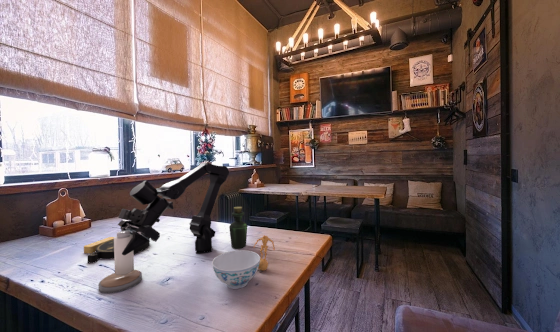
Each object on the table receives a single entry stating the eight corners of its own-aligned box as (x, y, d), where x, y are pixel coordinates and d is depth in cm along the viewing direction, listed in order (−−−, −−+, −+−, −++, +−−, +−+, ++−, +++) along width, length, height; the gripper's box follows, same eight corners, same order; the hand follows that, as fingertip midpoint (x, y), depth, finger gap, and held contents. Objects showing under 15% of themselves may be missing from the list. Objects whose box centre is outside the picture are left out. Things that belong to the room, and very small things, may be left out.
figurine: (249, 271, 81) (248, 237, 81) (257, 263, 87) (256, 232, 87) (271, 274, 78) (270, 239, 78) (277, 266, 84) (277, 234, 84)
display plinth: (146, 272, 82) (146, 267, 82) (134, 289, 71) (134, 283, 71) (109, 277, 79) (108, 271, 79) (90, 296, 68) (90, 289, 68)
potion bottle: (250, 247, 104) (250, 207, 104) (234, 251, 99) (233, 210, 99) (243, 242, 111) (242, 205, 110) (227, 246, 106) (226, 207, 106)
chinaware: (220, 272, 81) (220, 250, 81) (263, 271, 81) (262, 250, 80) (205, 297, 66) (204, 270, 66) (257, 297, 66) (256, 270, 65)
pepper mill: (137, 268, 77) (136, 230, 77) (123, 276, 72) (122, 235, 72) (125, 267, 79) (124, 229, 79) (110, 274, 74) (109, 234, 74)
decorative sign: (123, 231, 122) (165, 233, 117) (124, 238, 122) (165, 240, 117) (61, 253, 93) (113, 257, 88) (62, 261, 94) (113, 266, 89)
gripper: (123, 197, 84) (86, 235, 75) (149, 201, 73) (109, 246, 64) (146, 214, 90) (115, 251, 81) (173, 220, 80) (140, 263, 71)
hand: (119, 252), depth 74 cm, fingers closed on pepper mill, 5 cm apart
